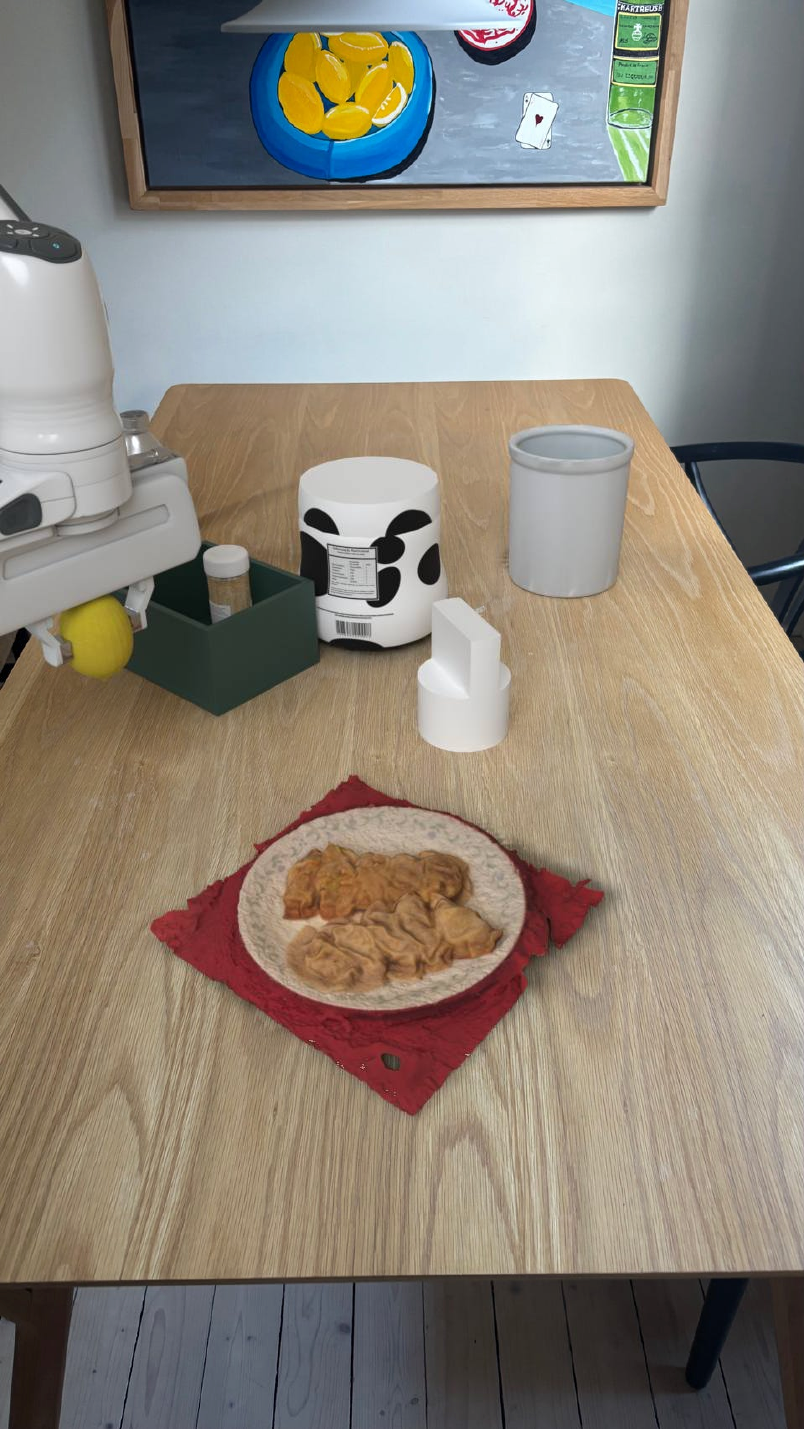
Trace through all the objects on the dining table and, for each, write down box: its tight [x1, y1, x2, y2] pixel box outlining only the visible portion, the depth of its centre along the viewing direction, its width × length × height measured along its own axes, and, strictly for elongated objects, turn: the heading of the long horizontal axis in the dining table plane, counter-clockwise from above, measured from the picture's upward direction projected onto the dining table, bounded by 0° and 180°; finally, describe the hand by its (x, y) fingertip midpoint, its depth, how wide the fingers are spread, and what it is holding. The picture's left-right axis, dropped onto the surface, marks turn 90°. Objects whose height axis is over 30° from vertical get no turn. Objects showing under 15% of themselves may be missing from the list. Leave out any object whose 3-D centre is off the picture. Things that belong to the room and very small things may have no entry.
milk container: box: [297, 455, 449, 652], centre depth 115 cm, size 17×17×18 cm
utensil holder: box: [508, 423, 636, 599], centre depth 126 cm, size 15×15×18 cm
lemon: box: [58, 594, 133, 682], centre depth 80 cm, size 6×6×8 cm
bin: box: [108, 539, 320, 718], centre depth 111 cm, size 18×15×10 cm
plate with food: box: [150, 774, 605, 1117], centre depth 78 cm, size 24×26×3 cm
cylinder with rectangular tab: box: [417, 597, 512, 753], centre depth 98 cm, size 9×9×12 cm
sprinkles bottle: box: [203, 544, 252, 624], centre depth 107 cm, size 5×5×14 cm
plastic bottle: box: [119, 409, 163, 456], centre depth 130 cm, size 6×7×20 cm
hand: (97, 645), depth 80 cm, fingers closed on lemon, 5 cm apart
